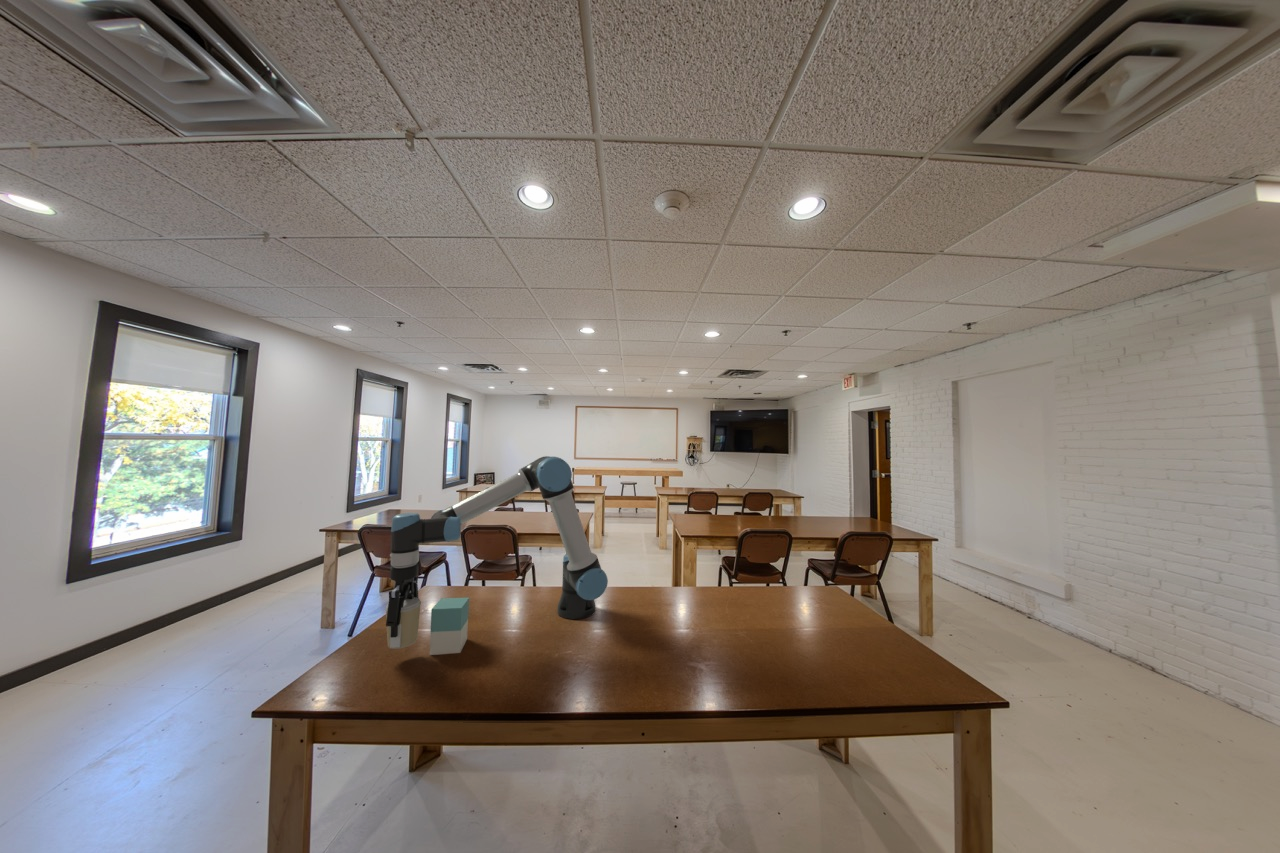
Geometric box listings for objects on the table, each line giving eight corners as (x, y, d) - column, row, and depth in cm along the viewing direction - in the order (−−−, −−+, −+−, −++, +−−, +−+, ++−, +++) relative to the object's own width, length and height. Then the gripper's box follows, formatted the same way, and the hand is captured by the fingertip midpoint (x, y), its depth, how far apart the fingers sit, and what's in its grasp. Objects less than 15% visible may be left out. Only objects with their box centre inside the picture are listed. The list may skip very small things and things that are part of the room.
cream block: (467, 639, 134) (467, 618, 135) (460, 652, 125) (461, 630, 126) (438, 641, 133) (439, 619, 133) (429, 655, 124) (430, 632, 124)
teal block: (468, 618, 135) (469, 597, 135) (460, 630, 126) (461, 607, 126) (440, 619, 133) (441, 598, 134) (430, 632, 124) (431, 609, 125)
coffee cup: (426, 635, 125) (427, 597, 126) (406, 651, 116) (407, 609, 117) (399, 634, 126) (400, 596, 127) (376, 649, 117) (378, 608, 118)
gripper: (407, 555, 132) (406, 624, 131) (372, 576, 111) (370, 658, 110) (431, 554, 133) (429, 623, 132) (400, 575, 112) (398, 657, 111)
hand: (402, 639), depth 121 cm, fingers closed on coffee cup, 8 cm apart
